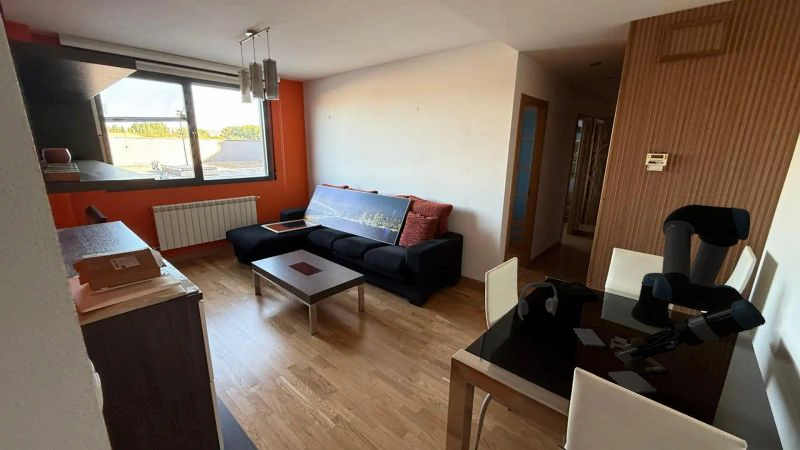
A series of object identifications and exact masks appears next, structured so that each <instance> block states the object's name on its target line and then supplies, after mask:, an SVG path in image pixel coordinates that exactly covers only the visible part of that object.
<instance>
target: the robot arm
mask: <svg viewBox="0 0 800 450" xmlns="http://www.w3.org/2000/svg"><path fill="white" fill-rule="evenodd" d="M662 223H663V224H662V233H663V235H664V236H665V237H664V247H663V249H664V250H663V260H662V269H661V272H648V273H646V274H645V275H644V276H643V278H642V281H641V287H640V291H639V296H638V301H637V303H635V305H634V307H633V308H632V309H631V313H630V314H631V317H632V318H633V319H634V320H636V321H638V322H639V323H642V324H645V325H647V326H651V327H656V328H666V329H664V330H659V331H657V332H653V333H651V334H648V335H644V338H643V339H644V340H646V341H647V342H648V344H649V345H646V346H644V347H641V348H639V347H638V346H637V347H636V348H635V349H632V350H630V349H631V347H632V346H631V344H630V343H628V344H626V345H623V346H622V348H623V350H624V351H626V352H623V353H620V354H619V355H620V356H621V357H622V359H623V360H624V361H628V360H632V359H635V358H638V357H642V356H643V357H644V358H648V357H650V358H652V357H654V356H658V355H661V354H665V353H667V352H672V351H676V350H677V348H676V347H679V346H680V345H682V343H684V344H686V345H687V346H690V347H695V346H698V345H702V344H704V342H706V343H707V342H711V341H720V339H721V338H725V337H729V336H733V335H736V334H739V333H743V332H746V331H751V330H753V329H755V328H758V327H761V326H763V325H765V324H766V319H765V316H763V314H762V313H761V311H760V310H759V309H758V308H757V307H756V306H755V305H754V304H753V303H752V302H751V301H750V300H747V299H744V298H743V295H742V294H741V293H740V291H738V289H736V288H735V287H733V286H731V285H728V284H716V281H717V279H718V276H719V273H720V271H721V269H722V267H723V265H724V262H725V259H726V257H727V256H728V255H727V254H728V253H729V251H730V248H731V247H734V246H736V245H737V244H738V243H739V241H747V240H748V238H749V235H750V231H751V215H750V211H748V210H747V209H744V208H738V207H733V206H732V207H726V206H716V205H715V206H714V205H704V204H687V205H683V206H681V207H678V208H677V209H674V210H673V211H672V212H671V213H670V214H668V215H667V216H666V218H665V220H664V222H662ZM694 235H697V237H698V238H699V240H700V243H699V245H698V248H697V252H696V255H695V257H694V260H693V263H692V261H691V257H692V255H691V253H692V237H693V236H694ZM691 263H692V265H691ZM670 305H674V306H677V307H683V308H686V309H690V310H695V311H697V312H702V313H700V314H697V315H693V316H692V317H689V318H688V319H682V320H680V321H677V322H675V323H674V326H671V327H669V326H670V324H671V318H670V311H669V307H670ZM667 327H669V328H667Z"/></svg>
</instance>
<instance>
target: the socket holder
mask: <svg viewBox="0 0 800 450" xmlns="http://www.w3.org/2000/svg"><path fill="white" fill-rule="evenodd" d="M623 352H626V351H625V350H624V351H614V355H615V356H616V357H617V358H618V359H619V360H620V361H621V362H623V363H624V364H625V362H626V361H624V360H623V359H622V357H621V356H620V355H619V354H620V353H623ZM646 361H647V362H648V363H650V365H652V366H649V367H645V373H644V374H651V373H653V374H654V373H664V372H665V373H666V370H667V369H666V368H665V367H664V366H662V365H661V364H660V363H658V362H657V361H656V360H654V359H653V358H652V357H648V358H646ZM637 374H638V375H639V373H637Z"/></svg>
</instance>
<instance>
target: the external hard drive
mask: <svg viewBox="0 0 800 450" xmlns="http://www.w3.org/2000/svg"><path fill="white" fill-rule="evenodd" d="M572 330H574V331H575V332H574V331H573V332H574V333H575V334H577V335H576V336H577V338H578V339H579V338H580V339H579V340H580V342H581V343H582V342H583V343H582V344H583V346H584V345H585V346H584V347H592V346H593V347H595V346H596V348H606V344H605V343H604V342H603V341H602V339H601V338H600V337H599V335H597V334H596V332H595V331H594V330H593V329H592V328H580V327H579V328H577V327H573V328H572Z"/></svg>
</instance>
